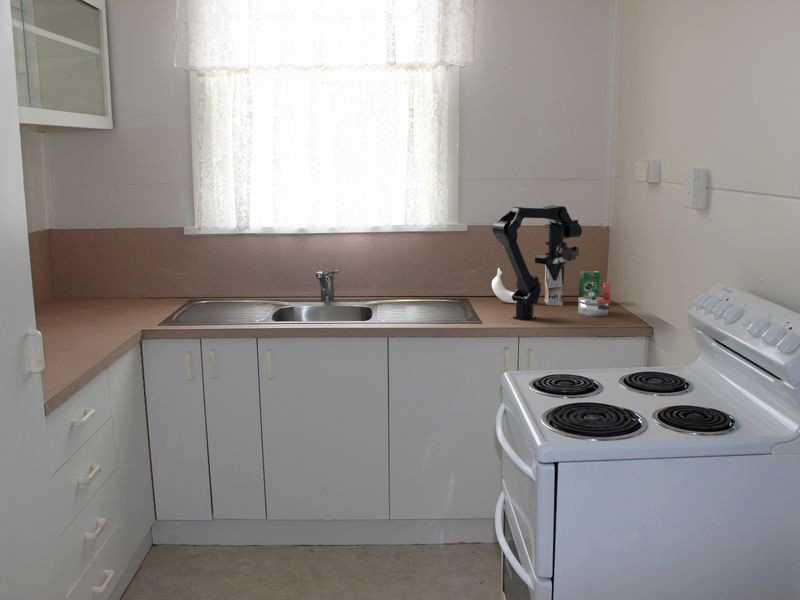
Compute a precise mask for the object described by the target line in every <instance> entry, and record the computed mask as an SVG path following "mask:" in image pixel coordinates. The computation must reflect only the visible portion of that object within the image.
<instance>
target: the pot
mask: <svg viewBox="0 0 800 600" xmlns="http://www.w3.org/2000/svg"><path fill="white" fill-rule="evenodd" d="M609 310H610V306H609V303H608V304H586V303H581V302H578V310H577V313H578V315H580V316H585V317H592V316H595V317H598V318H599V316H600V317H605V316H606V317H607V316H608V315H609V314H608V313H609Z"/></svg>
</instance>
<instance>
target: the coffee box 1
mask: <svg viewBox="0 0 800 600" xmlns="http://www.w3.org/2000/svg"><path fill="white" fill-rule="evenodd" d="M544 266H545V267H544V303H545V304H546V305H548V306H563V305H564V289H565V288H564V287H565V286H564V285H565V284H564V282H565V266H566V265H565V264H564V265H563V266H562V267H561V270H560V272H559V275H558V278H557V280H556V281H553V279H552V277H551V275H550V272H549V270H548V268H547V267H546V265H545V264H544Z"/></svg>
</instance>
